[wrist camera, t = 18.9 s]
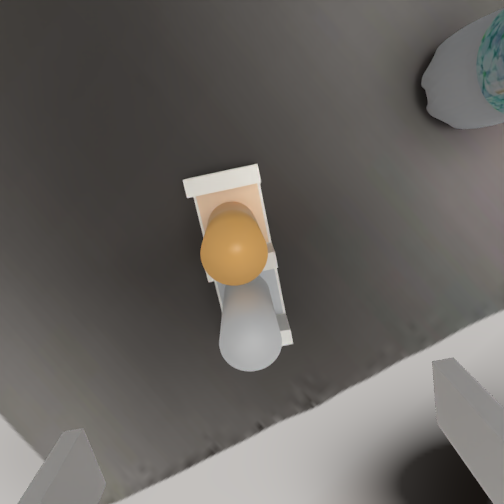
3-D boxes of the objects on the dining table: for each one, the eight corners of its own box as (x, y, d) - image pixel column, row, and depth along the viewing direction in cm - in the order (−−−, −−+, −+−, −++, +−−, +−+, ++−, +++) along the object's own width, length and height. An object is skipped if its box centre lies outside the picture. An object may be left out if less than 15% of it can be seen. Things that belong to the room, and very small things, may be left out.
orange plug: (224, 257, 27) (223, 297, 20) (198, 217, 26) (187, 243, 19) (264, 233, 27) (279, 264, 19) (240, 192, 26) (246, 207, 18)
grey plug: (224, 315, 29) (219, 371, 21) (224, 272, 28) (218, 314, 20) (269, 314, 29) (281, 371, 21) (270, 272, 28) (282, 314, 20)
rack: (189, 177, 26) (182, 180, 23) (255, 163, 26) (257, 164, 23) (228, 337, 29) (227, 357, 26) (287, 325, 29) (293, 343, 26)
